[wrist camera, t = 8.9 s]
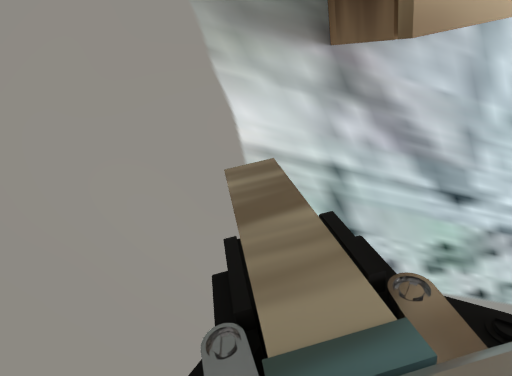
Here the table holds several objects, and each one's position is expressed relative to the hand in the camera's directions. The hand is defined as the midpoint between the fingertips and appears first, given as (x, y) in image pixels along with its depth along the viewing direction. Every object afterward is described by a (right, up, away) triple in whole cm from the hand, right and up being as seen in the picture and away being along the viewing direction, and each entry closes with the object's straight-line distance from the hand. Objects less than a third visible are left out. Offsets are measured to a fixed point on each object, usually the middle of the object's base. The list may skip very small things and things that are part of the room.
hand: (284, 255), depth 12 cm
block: (-1, +3, +7) cm, 8 cm away
